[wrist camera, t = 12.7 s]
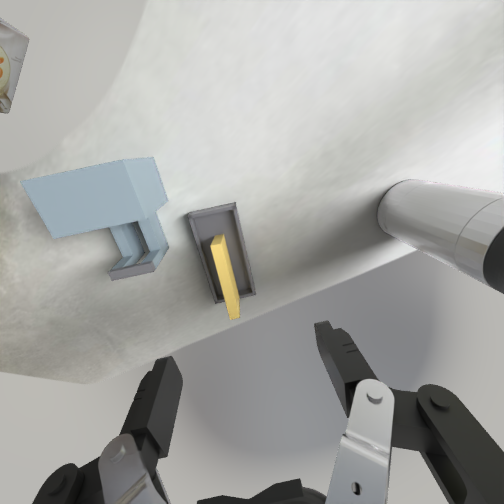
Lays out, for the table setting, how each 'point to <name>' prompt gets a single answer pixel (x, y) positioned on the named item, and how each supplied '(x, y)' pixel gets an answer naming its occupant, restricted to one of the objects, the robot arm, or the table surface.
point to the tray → (226, 223)
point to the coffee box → (10, 62)
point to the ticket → (226, 275)
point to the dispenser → (107, 208)
